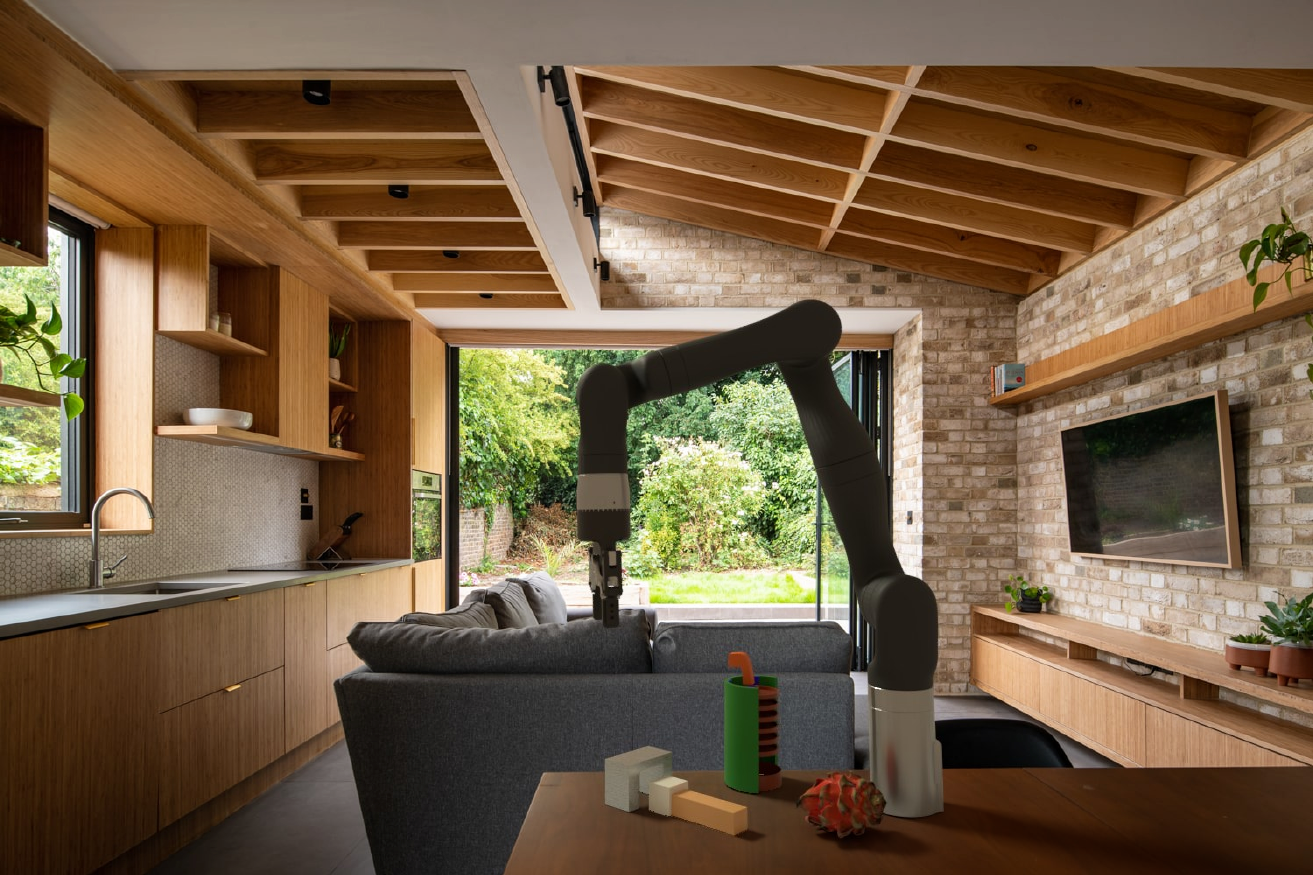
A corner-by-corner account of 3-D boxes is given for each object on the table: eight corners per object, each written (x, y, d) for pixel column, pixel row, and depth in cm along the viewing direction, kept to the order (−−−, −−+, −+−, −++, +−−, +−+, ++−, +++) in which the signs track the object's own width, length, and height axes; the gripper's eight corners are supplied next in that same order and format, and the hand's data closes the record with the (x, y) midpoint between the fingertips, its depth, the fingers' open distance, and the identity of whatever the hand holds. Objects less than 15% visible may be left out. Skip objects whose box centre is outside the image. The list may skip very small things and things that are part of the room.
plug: (749, 829, 115) (749, 798, 115) (731, 837, 112) (730, 806, 112) (667, 803, 125) (667, 775, 125) (648, 810, 122) (648, 781, 122)
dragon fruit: (896, 850, 111) (803, 858, 113) (884, 793, 118) (798, 801, 120) (889, 809, 107) (794, 819, 109) (878, 753, 114) (789, 762, 116)
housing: (672, 795, 128) (672, 751, 128) (629, 812, 121) (628, 765, 122) (648, 788, 131) (648, 745, 132) (604, 803, 125) (604, 758, 125)
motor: (779, 795, 128) (777, 659, 129) (720, 792, 129) (718, 658, 131) (783, 774, 138) (781, 648, 139) (728, 771, 139) (726, 647, 141)
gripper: (639, 506, 114) (642, 629, 113) (620, 506, 128) (622, 615, 127) (584, 507, 112) (585, 632, 111) (570, 507, 126) (572, 618, 125)
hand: (605, 623), depth 119 cm, fingers open, 8 cm apart
